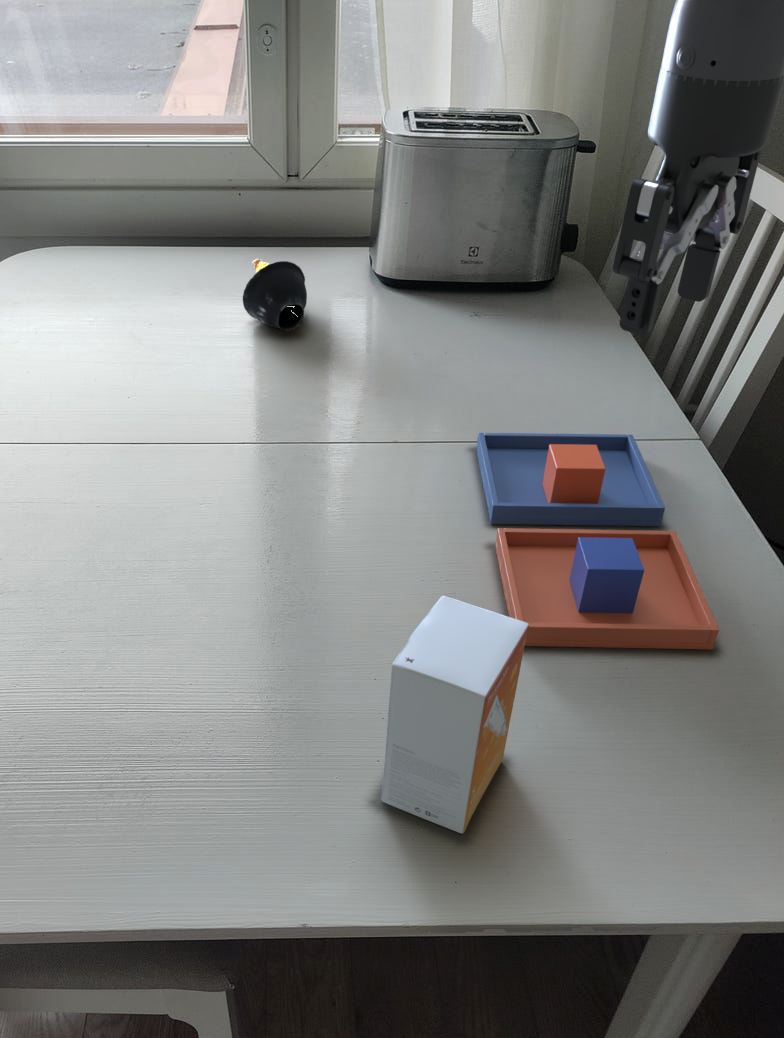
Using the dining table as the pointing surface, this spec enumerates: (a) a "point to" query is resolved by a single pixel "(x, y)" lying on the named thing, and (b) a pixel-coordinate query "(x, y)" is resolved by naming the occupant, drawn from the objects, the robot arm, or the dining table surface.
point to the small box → (451, 711)
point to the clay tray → (556, 621)
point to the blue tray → (521, 500)
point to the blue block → (606, 575)
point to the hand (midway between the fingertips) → (664, 314)
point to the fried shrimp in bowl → (276, 294)
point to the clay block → (573, 474)
